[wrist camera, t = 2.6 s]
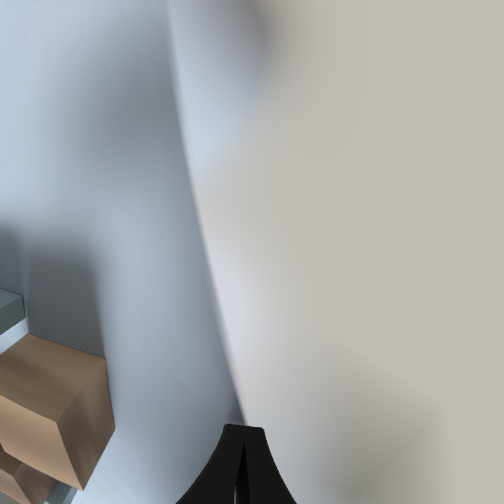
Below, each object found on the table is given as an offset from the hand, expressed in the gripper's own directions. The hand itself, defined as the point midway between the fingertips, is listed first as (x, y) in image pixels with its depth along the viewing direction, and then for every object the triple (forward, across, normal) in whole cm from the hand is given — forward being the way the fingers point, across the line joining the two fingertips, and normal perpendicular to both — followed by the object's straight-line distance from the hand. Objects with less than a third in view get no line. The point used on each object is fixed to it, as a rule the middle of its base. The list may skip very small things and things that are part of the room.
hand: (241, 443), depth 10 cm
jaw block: (+1, +8, 0) cm, 8 cm away
